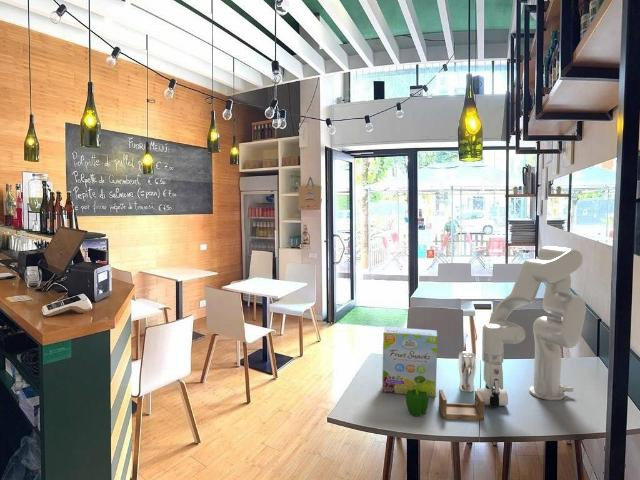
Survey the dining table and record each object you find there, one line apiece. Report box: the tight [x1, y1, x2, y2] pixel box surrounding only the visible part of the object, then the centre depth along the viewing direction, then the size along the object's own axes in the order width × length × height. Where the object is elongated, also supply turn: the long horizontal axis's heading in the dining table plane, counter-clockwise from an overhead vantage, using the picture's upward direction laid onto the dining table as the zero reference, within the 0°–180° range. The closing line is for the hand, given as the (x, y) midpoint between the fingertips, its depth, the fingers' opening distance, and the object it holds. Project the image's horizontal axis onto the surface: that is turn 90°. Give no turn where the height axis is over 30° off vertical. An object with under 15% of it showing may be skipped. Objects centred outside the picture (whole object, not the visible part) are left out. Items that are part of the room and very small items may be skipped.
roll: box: [476, 387, 509, 407], centre depth 170 cm, size 10×6×6 cm, turn 84°
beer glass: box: [457, 351, 477, 393], centre depth 184 cm, size 7×7×15 cm
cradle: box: [438, 389, 486, 421], centre depth 163 cm, size 14×9×7 cm, turn 84°
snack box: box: [381, 326, 438, 398], centre depth 182 cm, size 22×9×26 cm, turn 77°
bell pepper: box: [405, 385, 430, 417], centre depth 164 cm, size 8×8×10 cm
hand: (491, 402), depth 170 cm, fingers closed on roll, 6 cm apart
